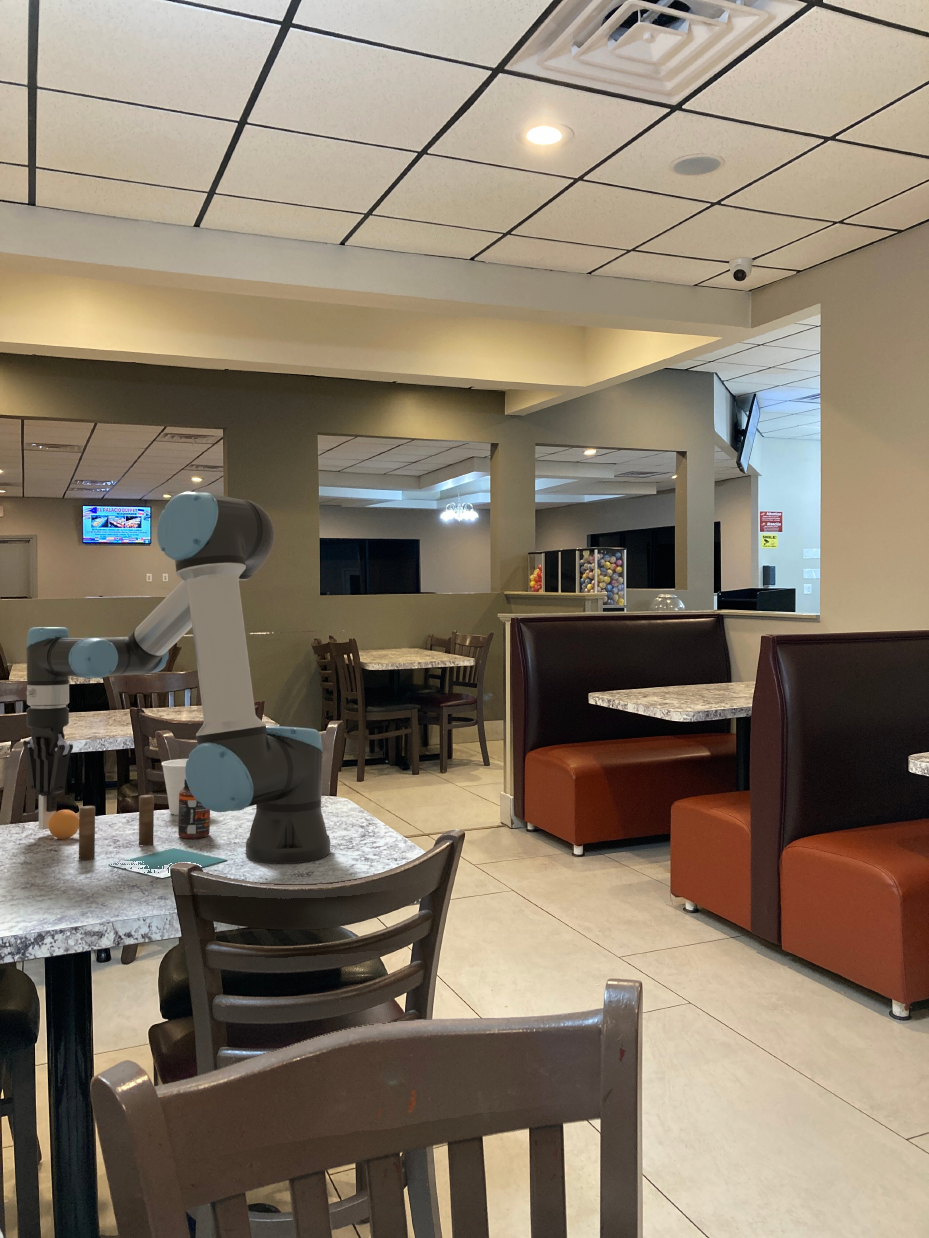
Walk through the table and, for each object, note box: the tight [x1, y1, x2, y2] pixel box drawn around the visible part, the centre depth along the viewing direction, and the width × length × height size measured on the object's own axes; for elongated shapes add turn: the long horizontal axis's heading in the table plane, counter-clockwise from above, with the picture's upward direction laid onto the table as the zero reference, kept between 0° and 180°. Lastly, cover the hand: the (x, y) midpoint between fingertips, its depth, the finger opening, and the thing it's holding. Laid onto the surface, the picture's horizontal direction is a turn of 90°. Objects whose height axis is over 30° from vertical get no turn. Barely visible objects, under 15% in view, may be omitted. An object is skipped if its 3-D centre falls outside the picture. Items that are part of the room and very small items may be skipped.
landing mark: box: [108, 847, 228, 873], centre depth 163 cm, size 14×14×1 cm
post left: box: [78, 805, 96, 861], centre depth 165 cm, size 3×3×9 cm
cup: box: [161, 758, 189, 816], centre depth 203 cm, size 10×10×11 cm
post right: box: [138, 794, 155, 847], centre depth 176 cm, size 3×3×9 cm
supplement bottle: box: [177, 778, 211, 840], centre depth 183 cm, size 6×6×11 cm
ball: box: [48, 809, 79, 840], centre depth 179 cm, size 6×6×6 cm
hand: (47, 827), depth 182 cm, fingers closed
